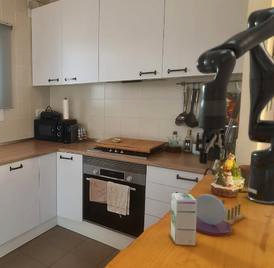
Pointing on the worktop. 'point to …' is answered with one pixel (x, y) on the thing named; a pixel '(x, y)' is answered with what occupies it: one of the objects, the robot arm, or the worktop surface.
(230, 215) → the dish rack
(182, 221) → the syrup box
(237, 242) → the worktop surface
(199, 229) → the plum plate
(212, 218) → the plate
